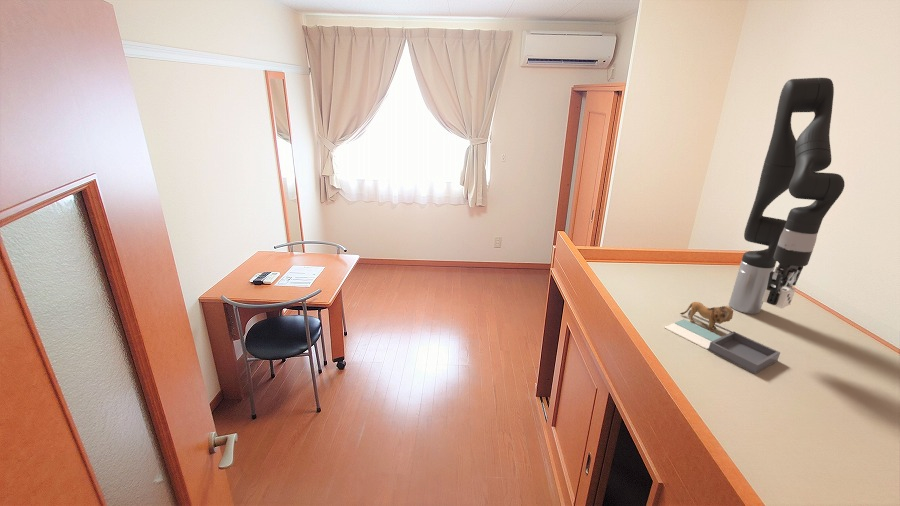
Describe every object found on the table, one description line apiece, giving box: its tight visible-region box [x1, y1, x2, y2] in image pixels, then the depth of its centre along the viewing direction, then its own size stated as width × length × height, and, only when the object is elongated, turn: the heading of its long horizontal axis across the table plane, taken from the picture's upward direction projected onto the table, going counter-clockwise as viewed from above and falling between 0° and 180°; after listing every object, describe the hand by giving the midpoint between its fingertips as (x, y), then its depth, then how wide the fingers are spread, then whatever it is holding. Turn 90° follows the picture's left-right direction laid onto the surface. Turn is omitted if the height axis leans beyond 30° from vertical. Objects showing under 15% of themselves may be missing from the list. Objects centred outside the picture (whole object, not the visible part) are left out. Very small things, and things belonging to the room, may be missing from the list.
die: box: [762, 286, 797, 309], centre depth 114 cm, size 5×5×5 cm
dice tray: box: [707, 331, 781, 375], centre depth 115 cm, size 12×12×3 cm
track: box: [663, 314, 733, 350], centre depth 127 cm, size 17×14×1 cm
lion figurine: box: [679, 301, 734, 332], centre depth 130 cm, size 15×5×9 cm, turn 36°
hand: (776, 301), depth 115 cm, fingers closed on die, 5 cm apart
